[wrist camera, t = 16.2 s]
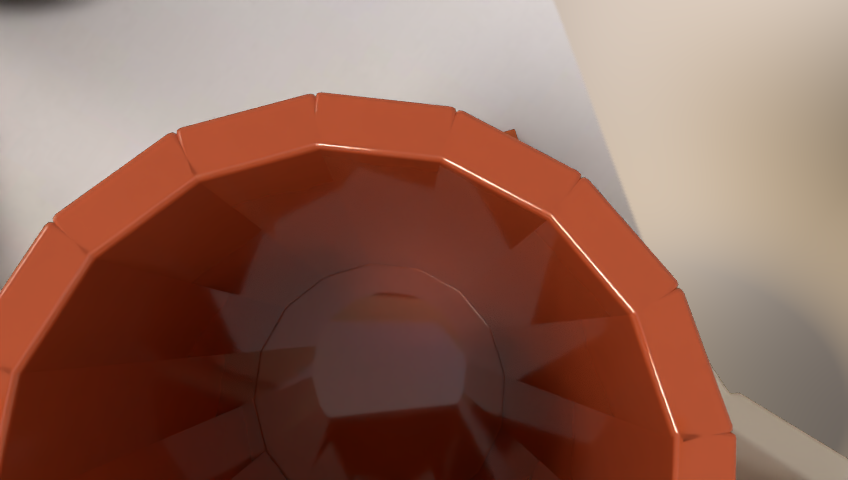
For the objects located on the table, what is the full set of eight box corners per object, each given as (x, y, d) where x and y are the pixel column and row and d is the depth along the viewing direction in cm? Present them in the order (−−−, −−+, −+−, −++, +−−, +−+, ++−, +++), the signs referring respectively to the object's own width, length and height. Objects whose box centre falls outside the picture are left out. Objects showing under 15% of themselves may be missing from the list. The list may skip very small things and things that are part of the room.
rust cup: (558, 483, 15) (862, 770, 5) (280, 574, 14) (7, 1101, 4) (473, 215, 16) (585, 17, 6) (211, 290, 15) (-135, 207, 5)
